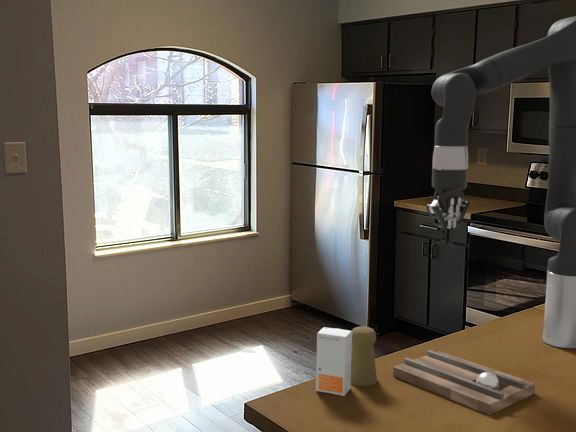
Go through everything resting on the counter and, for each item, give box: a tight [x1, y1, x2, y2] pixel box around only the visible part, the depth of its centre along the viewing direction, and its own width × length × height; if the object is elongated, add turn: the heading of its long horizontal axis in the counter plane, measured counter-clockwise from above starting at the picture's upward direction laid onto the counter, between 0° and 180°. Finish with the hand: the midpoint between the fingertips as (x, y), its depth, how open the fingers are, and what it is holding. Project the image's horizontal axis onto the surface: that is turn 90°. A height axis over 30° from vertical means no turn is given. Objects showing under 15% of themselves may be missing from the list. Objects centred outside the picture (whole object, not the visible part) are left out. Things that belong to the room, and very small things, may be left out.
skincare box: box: [315, 326, 353, 397], centre depth 127 cm, size 6×4×12 cm
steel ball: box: [476, 372, 499, 391], centre depth 126 cm, size 4×4×4 cm
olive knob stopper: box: [351, 325, 378, 387], centre depth 132 cm, size 6×6×11 cm
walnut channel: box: [392, 349, 536, 416], centre depth 131 cm, size 15×23×3 cm, turn 39°
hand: (446, 244), depth 145 cm, fingers closed
